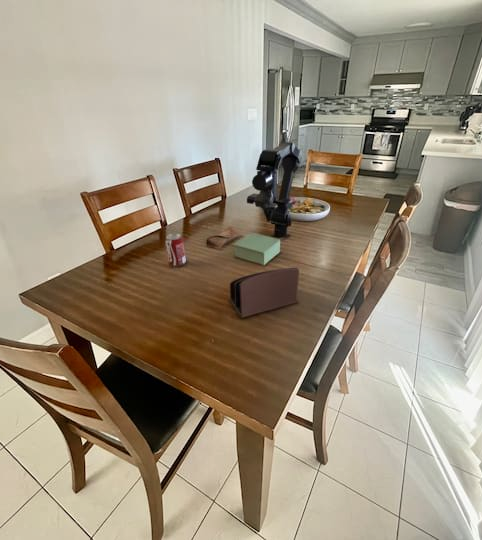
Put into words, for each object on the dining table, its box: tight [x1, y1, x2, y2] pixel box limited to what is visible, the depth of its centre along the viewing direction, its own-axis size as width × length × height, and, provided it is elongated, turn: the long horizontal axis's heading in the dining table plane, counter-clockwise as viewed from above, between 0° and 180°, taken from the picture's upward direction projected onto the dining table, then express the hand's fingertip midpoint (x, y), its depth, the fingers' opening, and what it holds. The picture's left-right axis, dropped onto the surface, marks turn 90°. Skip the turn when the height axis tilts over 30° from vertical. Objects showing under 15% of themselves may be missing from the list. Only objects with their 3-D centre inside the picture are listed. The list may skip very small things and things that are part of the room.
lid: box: [234, 232, 281, 254], centre depth 122 cm, size 14×14×1 cm
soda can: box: [165, 233, 187, 267], centre depth 117 cm, size 7×7×12 cm
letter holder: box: [229, 267, 300, 319], centre depth 93 cm, size 10×20×14 cm, turn 114°
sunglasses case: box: [205, 226, 243, 249], centre depth 138 cm, size 18×7×7 cm
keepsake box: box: [234, 241, 281, 266], centre depth 124 cm, size 13×14×6 cm
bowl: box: [289, 195, 331, 222], centre depth 167 cm, size 30×30×8 cm
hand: (268, 221), depth 124 cm, fingers closed
